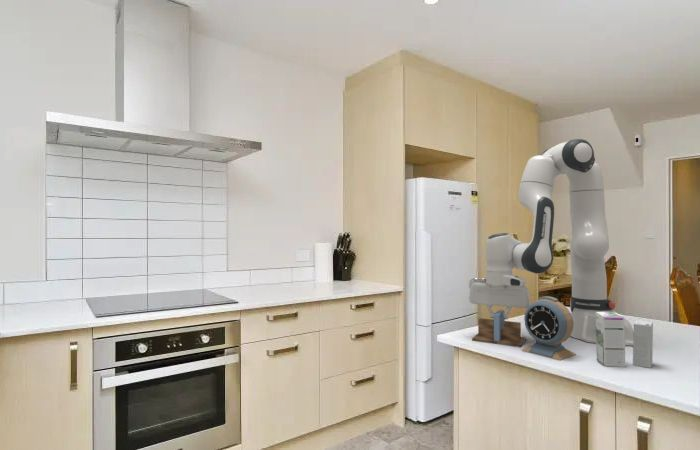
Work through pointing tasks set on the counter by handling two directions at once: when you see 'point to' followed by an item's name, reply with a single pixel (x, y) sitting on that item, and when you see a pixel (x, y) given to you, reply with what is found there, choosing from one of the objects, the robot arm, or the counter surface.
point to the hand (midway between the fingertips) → (499, 318)
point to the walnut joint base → (508, 334)
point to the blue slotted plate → (498, 324)
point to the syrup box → (610, 339)
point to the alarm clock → (549, 328)
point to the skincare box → (643, 343)
